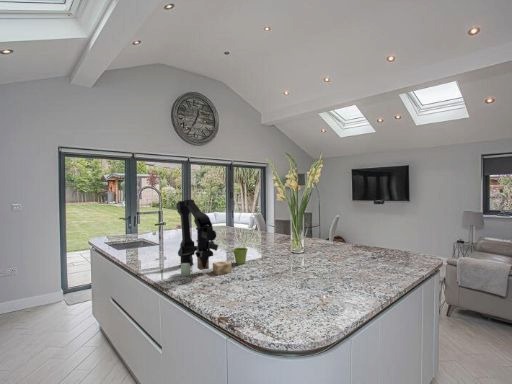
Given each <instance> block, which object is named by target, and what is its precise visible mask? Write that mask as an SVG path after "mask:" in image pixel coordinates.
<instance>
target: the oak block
mask: <svg viewBox="0 0 512 384" xmlns="http://www.w3.org/2000/svg"><path fill="white" fill-rule="evenodd" d="M232 268H233V267H232V263H230V262H228V261H226V260H222V261H217V262H212V271H213V272H214V273H215V274H216V275H217V276H219V274H220V275H224V274H225V273H226V274H231V272H232Z"/></svg>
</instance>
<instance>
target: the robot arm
mask: <svg viewBox="0 0 512 384" xmlns="http://www.w3.org/2000/svg"><path fill="white" fill-rule="evenodd" d="M175 206H176V210H177V213H178V215H179V216H180V224H181V226H180V227H181V236H182V240H181V242H180V243H179V244H180V245H179V250H178V251H177V255H178V257H180V264H179V267H181V264H182V263H190V267H192V266H193V265H194V258H193V256H196V258H197V257H200V259H201V262H202V265H203V267H204V268H205V267H206V264H207V260H208V258H211V257H214V252H213V251H212V250H214V251H216V252H217V251H218V248H219V244H217V243H215V241H214V240H215V239H216V238H217V232H216V230H214V227H213V224H212V221H211V218H210V216H209V215H207V214H206V213H205V212H203V211H201V210H200V208H199V207H198V204H197V203H195V200H194V199H193V198H190V199H185V200H179V201H177V202H176V205H175ZM190 213H191V215H192V216H193V217H194V220H193V222H194V224H195V226H196V227H195V230H197V231H196V235H197V239H196V243H197V244H196V245H195V241H194V240H192V237H191V228H190V217H189V215H190Z"/></svg>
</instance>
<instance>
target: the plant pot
mask: <svg viewBox="0 0 512 384" xmlns="http://www.w3.org/2000/svg"><path fill="white" fill-rule="evenodd" d="M248 250H249V249H248V248H246V247H236V248H233V249H232V251H233V255H234V261H235V264H237V265H242V264H245V263H246V262H247V261H246V260H247V252H248Z"/></svg>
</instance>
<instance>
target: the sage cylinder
mask: <svg viewBox="0 0 512 384" xmlns="http://www.w3.org/2000/svg"><path fill="white" fill-rule="evenodd" d="M180 265H181V266H180V276H181V277H189V276H191V266H190V263H182V264H181V263H180Z"/></svg>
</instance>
